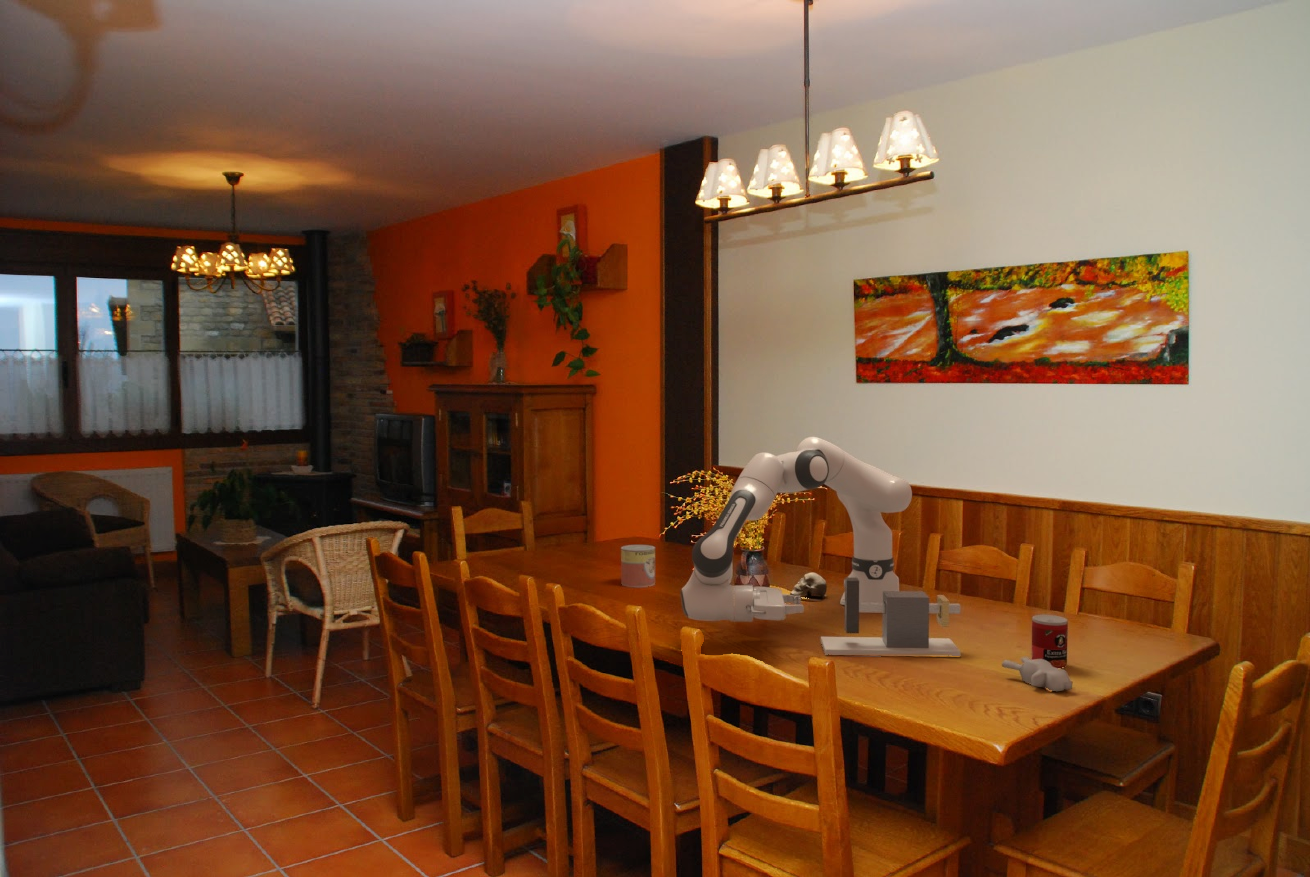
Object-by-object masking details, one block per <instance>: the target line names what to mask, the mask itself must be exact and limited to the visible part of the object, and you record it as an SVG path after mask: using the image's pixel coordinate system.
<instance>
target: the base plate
mask: <svg viewBox="0 0 1310 877" xmlns="http://www.w3.org/2000/svg"><path fill="white" fill-rule="evenodd" d="M821 644H822V645H821ZM820 645H821V647H823V648H822V650H824V651H823V653H825V654H824V656H825V655H828V654H829V655H831V654H832V655H948V656H949V655H952V656H961V654H962V652H961V649H959V647H957V645H956V644H955V643H954V642H953V640H952V639H951V638H948V637H947V638H944V637H942V638H940V637H938V638H937V637H935V638H934V637H929V648H887V647H886V646H885V644H884V642H883V640H882V637H879V636H878V637H877V636H876V637H874V636H873V637H872V636H870V637H869V636H867V637H865V636H820ZM961 657H962V656H961Z"/></svg>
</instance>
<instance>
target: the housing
mask: <svg viewBox="0 0 1310 877" xmlns="http://www.w3.org/2000/svg"><path fill="white" fill-rule="evenodd" d="M883 603H886V613H882V626H881V627H882V631H881V632H882V635H881V636H882V640H883V642H884V644H885V646H886V647H887V648H929V638H930V613H929V603H930V596H928V594H927V593H926V592H925V591H922V590H920V591H914V590H910V591H909V590H908V591H907V590H899V591H883Z"/></svg>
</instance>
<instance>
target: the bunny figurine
mask: <svg viewBox="0 0 1310 877" xmlns="http://www.w3.org/2000/svg"><path fill="white" fill-rule="evenodd" d="M1020 661H1021V663H1022V664H1020V663H1018V662H1015V661H1012V660H1008V659H1004V660H1003V662H1002V663H1001V667H1003V668H1005V669H1011V670H1014V671H1015V670H1016V671H1018V673H1019V674H1020V677H1021V679H1022V681H1023V682H1024V681H1025V682H1024V683H1026V682H1027V684H1028V683H1031V685H1030V686H1033V687H1038V688H1044V687H1046V688H1048V689H1049V690H1052V691H1056V692H1060V691H1061V692H1063V691H1067V690H1072V689H1073V681H1072V680H1071V679H1070V676H1069V675H1068V671H1067V670H1065V669H1058V668H1055V667H1053V666H1052V665H1051V664H1050V663H1049V662H1048V661H1046V660H1043V659H1034V660H1032V658H1030V657H1028V656H1024V657H1020ZM1064 689H1066V690H1064Z"/></svg>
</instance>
